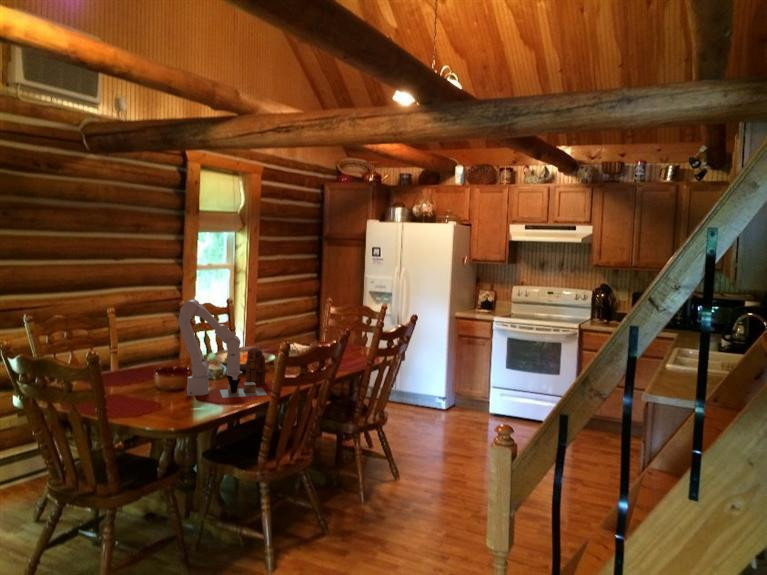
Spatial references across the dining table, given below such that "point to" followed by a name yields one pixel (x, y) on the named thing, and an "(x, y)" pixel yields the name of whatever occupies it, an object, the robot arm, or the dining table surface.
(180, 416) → the dining table surface
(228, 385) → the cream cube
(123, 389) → the dining table surface
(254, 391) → the walnut base block
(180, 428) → the dining table surface
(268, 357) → the dining table surface
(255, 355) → the wooden figurine
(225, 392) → the mat
